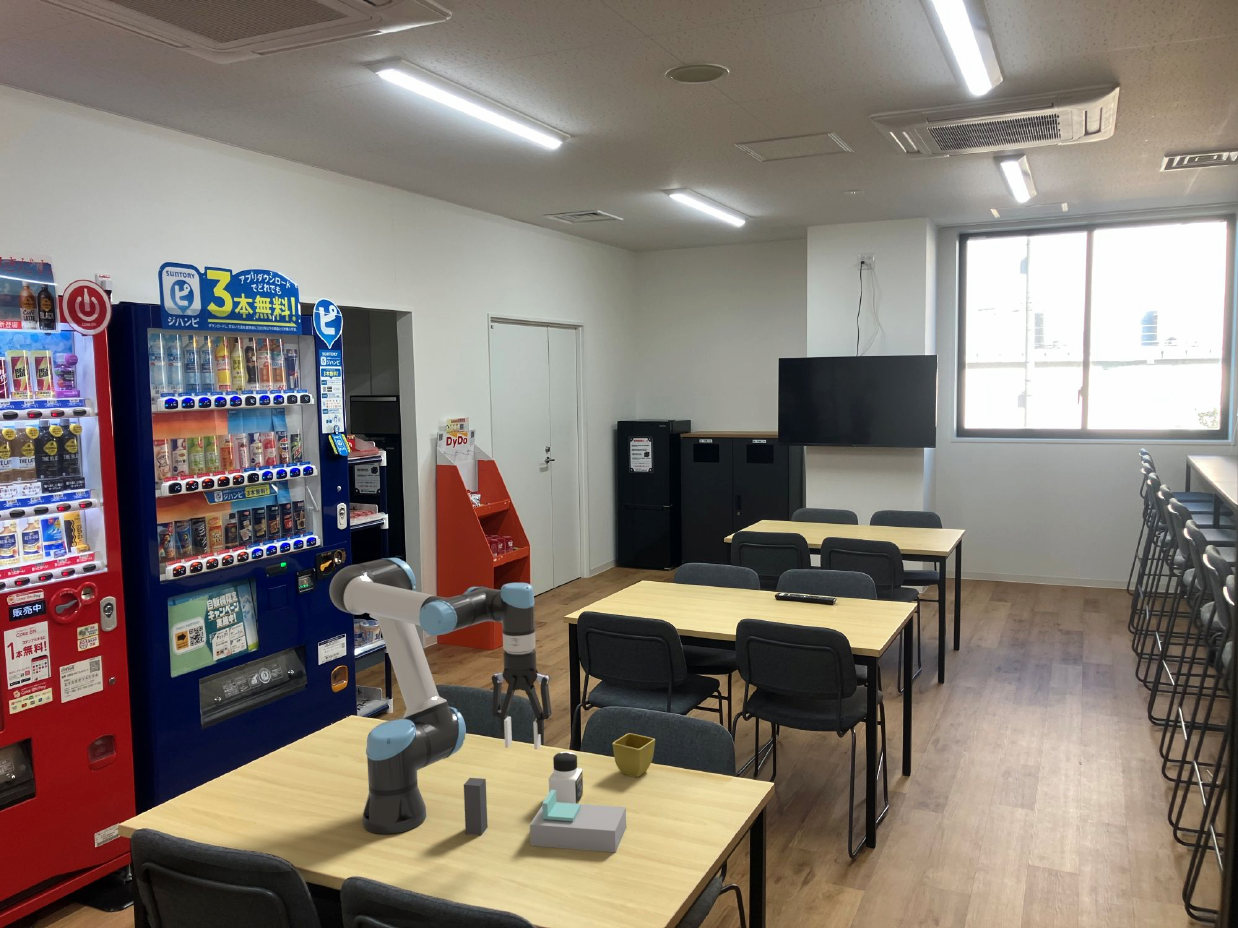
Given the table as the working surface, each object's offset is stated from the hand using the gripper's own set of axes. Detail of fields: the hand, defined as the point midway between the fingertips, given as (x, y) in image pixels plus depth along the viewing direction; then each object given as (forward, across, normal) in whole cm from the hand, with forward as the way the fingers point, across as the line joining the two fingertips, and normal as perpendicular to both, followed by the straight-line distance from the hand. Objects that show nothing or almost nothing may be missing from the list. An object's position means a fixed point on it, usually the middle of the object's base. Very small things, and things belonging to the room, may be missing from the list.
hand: (523, 745), depth 216 cm
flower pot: (+21, +19, +37) cm, 47 cm away
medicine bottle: (+21, +5, +18) cm, 28 cm away
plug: (+21, -12, -1) cm, 24 cm away
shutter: (+16, +9, 0) cm, 18 cm away
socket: (+21, +13, 0) cm, 25 cm away
